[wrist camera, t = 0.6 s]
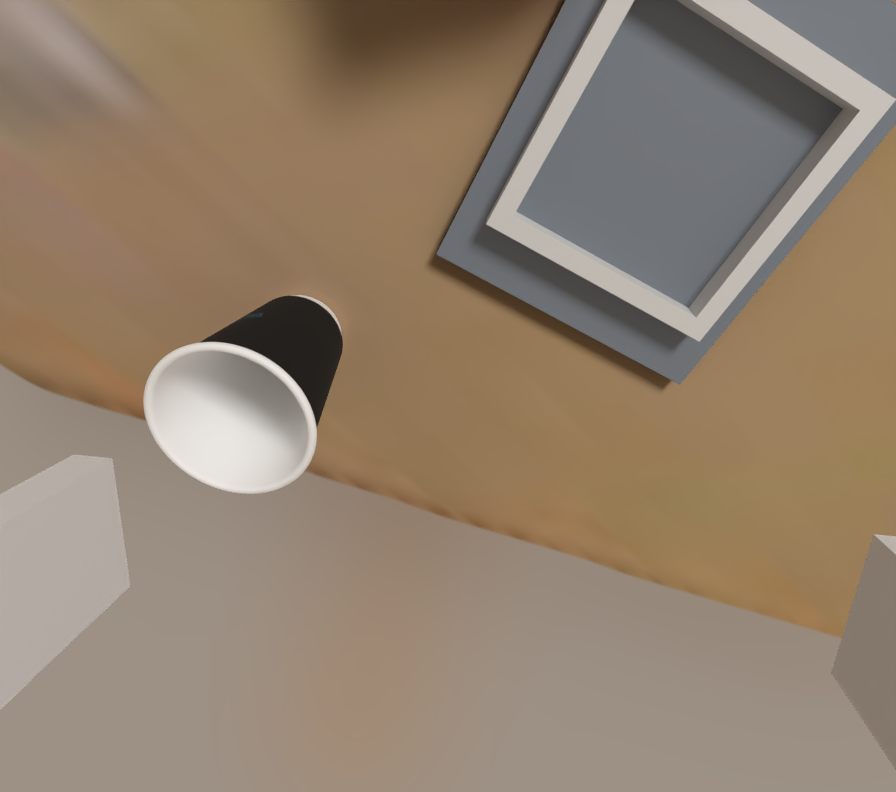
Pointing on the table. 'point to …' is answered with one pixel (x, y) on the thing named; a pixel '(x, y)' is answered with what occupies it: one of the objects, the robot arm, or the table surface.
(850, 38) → the carrier plate
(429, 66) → the table surface
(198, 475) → the dixie cup
